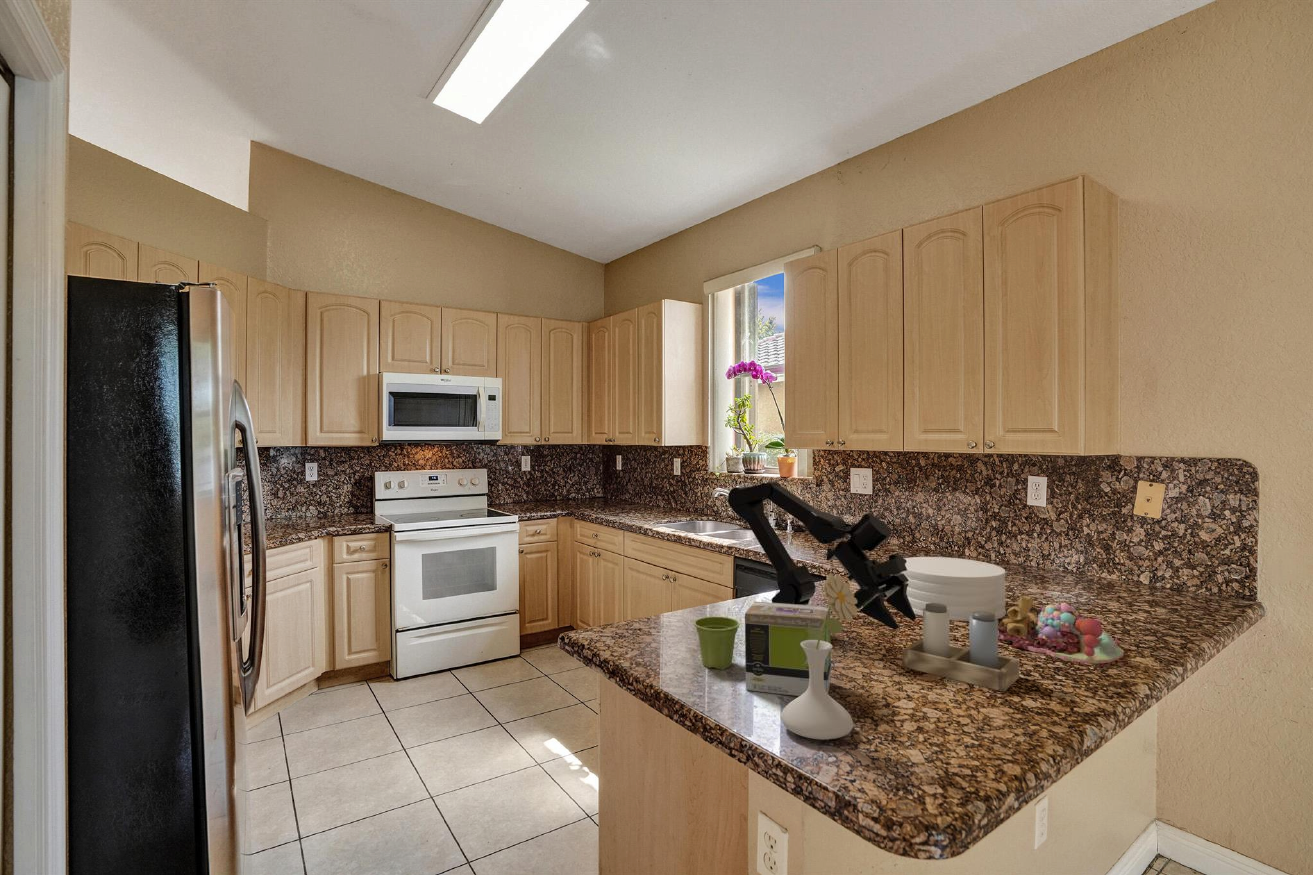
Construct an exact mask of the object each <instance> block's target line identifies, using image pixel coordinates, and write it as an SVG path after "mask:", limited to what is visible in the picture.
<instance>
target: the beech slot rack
mask: <svg viewBox="0 0 1313 875" xmlns="http://www.w3.org/2000/svg"><path fill="white" fill-rule="evenodd" d="M902 667H903V668H907V669H910V670H911V669H912V670H914V671H917V672H918V671H919V672H923V673H927V674H931V675H935V676H939V677H942V678H947V679H951V680H956V681H958V682H963V683H967V684H971V685H976V686H979V687H982V688H983V687H984V688H988V689H990V690H996V691H1000V692H1003V693H1005V692H1006V691H1007V690H1008V689H1010V687H1011V686H1012V685H1013V684H1014V683H1015V682H1016V681H1017V680H1018V679H1019V678H1020V659H1019V658H1014V657H1010V656H1006V655H1000V654H998V670H997V669H993V668H988V667H984V666H980V665H975V664H971V663H969V648H968V647H963V646H959V645H954V644H950V659H949V658H944V657H940V656H936V655H931V654H927V653H923V638H920V639H918V640H917V641H915V642H913V643H912V644H910V645H908V646H906V647H904V648H903V649H902Z"/></svg>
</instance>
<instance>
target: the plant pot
mask: <svg viewBox="0 0 1313 875" xmlns="http://www.w3.org/2000/svg"><path fill="white" fill-rule="evenodd" d="M693 625H694V627H695V628H696V632H697V634H698V641H699V648H700V657H701V661H702V665H703V666H705V667H706V668H709V669H711V668H715V669H718V670H721V669H727V668H729V667H731V665H732V664H733V658H734V650H735V640H736V634H737V632H738V628H739V627H740V621H738V620H737V619H736V618H731V617H725V616H706V617H699V618H697V619H695V621H694V622H693Z"/></svg>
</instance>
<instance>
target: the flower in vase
mask: <svg viewBox="0 0 1313 875" xmlns="http://www.w3.org/2000/svg"><path fill="white" fill-rule="evenodd" d="M822 588H823V591H824V598H825V599H826V600H827V601H826V605H827V607H829V609H828V611H827V613H826V617H825V620H824V623H823V626H822V629H821V631H820V630H816V629H814V628H812V627H811V626H809V625H808V628H807V633H811V634H814V635H819V638H818V640H806V641H803V642H801V646H802V648H803V649H804V651H805V653H806V656H807V659H808V664H809V686H808V689H807V691H806V692H805V693H803V694H802V695H801V696H797V697H796V698H795V699H793V700H792V701H791V702H788V704H786V706H784V708H783V709H782V710H781V714H780V717H779V718H780V721H781V723H782V724H783V726H784V727H785V728H786V729H787V730H788V731H790V732H791V733H794V734H796V735H799V736H801V737H804V738H807V739H813V740H832V739H833V740H835V739H839V738H842V737H846V736H847V735H848V734H849V733H850V732H851V731H852V729H853V728H854V721H853V719H852V716H851V714H850V713H849V712H848V711H847V709H845V708H844V707H843V706H842V705H841V704H840V703H839V702H838V701H837V700H835V699H834V698H833V697H832V696H830V695H829V693H828V694H827V692H826V690H825V688H824V665H825V660H826V657H827V654H828V653H829V651H830V650H832V649H833V644H831V642H830V643H828V642H825V641H820V639H821V636H822V634H823V630H824V627H825V624H826V627H827V628H828V630H829V631H830V633H831V634H833V635H836V634H839V633H841V631H843V628H844V626H843V624H842V622H841V621H839V620H838V619H840V620H842V621H846V622H847V623H848V622H853V620H854V619H853V616H854V617H856V616H857V615H858V610H857V607H856V606H855V605H854V604H857V599H856V598H854V592H853V591H852V590H851V585H850V584H849V583H845V581H844V579H843V577H842V576H840V575H839V574H838V573H835V575H833V573H832V572H830V573H829V574H828V575H827V576H826V580H824V582H823V587H822ZM831 611H832V613H834V616H835V617H836V618H837V619H836V618H834V617H830V618H829V619H828V621H827V617H828V614H829V612H830V613H831ZM826 621H827V622H826Z"/></svg>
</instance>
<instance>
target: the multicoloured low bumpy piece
mask: <svg viewBox="0 0 1313 875" xmlns="http://www.w3.org/2000/svg"><path fill="white" fill-rule="evenodd" d="M1033 604H1034V600H1033V598H1032V597H1031V596H1029V595H1028V596H1027V595H1022V596H1020V598H1019V602H1018V605H1015V606H1011V607H1010V608H1008V609H1007V611H1006V615H1007V616H1008V618H1005V619H1002V620H1001V621H1000V622H999V623H998V639H999V640H1000V639H1001V640H1000V641H1001V643H1006V642H1011V643H1012V644H1011V647H1014V648H1016V649H1017V648H1019V649H1023V650H1028V651H1031V652H1035V653H1040V654H1046V655H1048V656H1051V657H1053V658H1058V659H1061V660H1065V661H1072V662H1076V663H1082V664H1083V663H1085V664H1106V663H1113V662H1114V661H1119V660H1120V659H1121V658H1124V653H1125V651H1124V650H1123V649H1122V648H1121V647H1119V645H1118V642H1119V640H1118V636H1116V637H1115V639H1114V638H1112V637H1111V636H1110V635H1109V634H1108V633H1107V632H1105V630H1104V629H1103V626H1102V624H1101V623H1100V622H1099V621H1098V620H1096V619H1093V618H1086V619H1085V618H1084V616H1083V615H1081V614H1080V612H1078V611H1076V607H1074V605H1070V604H1069V603H1067V602H1062V603H1061V604H1059V603H1055V604H1051V603H1049V604H1048V605H1045V603H1043V606H1042V610H1041V611H1040V613H1038V614H1037V611H1035V612H1034V611H1031V609H1032V607H1033Z"/></svg>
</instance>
